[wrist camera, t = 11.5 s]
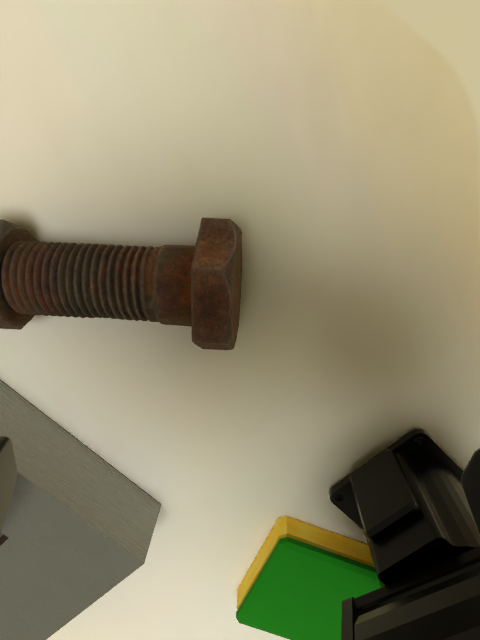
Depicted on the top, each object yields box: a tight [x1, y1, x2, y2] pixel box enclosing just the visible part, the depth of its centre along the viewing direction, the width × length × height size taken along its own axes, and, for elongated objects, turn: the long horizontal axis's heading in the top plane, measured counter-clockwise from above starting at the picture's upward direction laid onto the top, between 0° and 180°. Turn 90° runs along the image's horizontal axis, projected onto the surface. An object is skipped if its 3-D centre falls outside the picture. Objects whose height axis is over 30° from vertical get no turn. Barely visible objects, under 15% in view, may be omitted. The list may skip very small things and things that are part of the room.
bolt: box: [0, 218, 242, 350], centre depth 19 cm, size 6×5×15 cm
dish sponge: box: [236, 516, 381, 640], centre depth 27 cm, size 7×14×2 cm, turn 68°
